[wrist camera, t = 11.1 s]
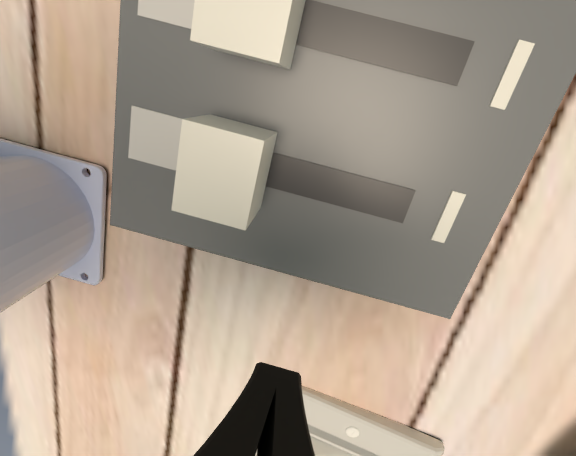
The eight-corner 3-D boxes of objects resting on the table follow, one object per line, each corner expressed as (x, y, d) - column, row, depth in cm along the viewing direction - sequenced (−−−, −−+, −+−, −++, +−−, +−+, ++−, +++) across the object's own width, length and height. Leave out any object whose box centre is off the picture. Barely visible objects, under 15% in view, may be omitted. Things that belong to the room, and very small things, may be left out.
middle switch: (218, 51, 14) (189, 40, 11) (233, -53, 13) (205, -95, 10) (290, 69, 14) (279, 63, 11) (313, -34, 13) (306, -69, 10)
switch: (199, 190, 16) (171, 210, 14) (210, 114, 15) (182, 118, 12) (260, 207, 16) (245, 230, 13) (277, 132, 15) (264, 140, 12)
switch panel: (140, 207, 21) (108, 225, 18) (185, -353, 13) (141, -486, 10) (434, 288, 20) (450, 320, 17) (682, -241, 12) (791, -346, 9)
